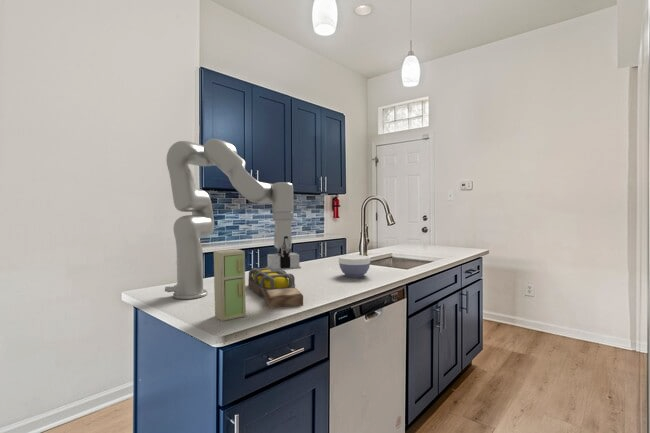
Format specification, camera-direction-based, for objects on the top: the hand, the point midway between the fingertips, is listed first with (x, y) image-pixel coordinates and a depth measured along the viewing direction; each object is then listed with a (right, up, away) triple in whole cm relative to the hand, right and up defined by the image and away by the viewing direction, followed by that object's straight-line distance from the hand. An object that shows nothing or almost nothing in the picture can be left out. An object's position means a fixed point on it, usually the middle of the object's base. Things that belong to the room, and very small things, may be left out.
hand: (283, 265), depth 125 cm
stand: (0, -13, 0) cm, 13 cm away
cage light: (-8, -13, +21) cm, 26 cm away
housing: (0, -1, 0) cm, 1 cm away
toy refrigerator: (-15, -14, -15) cm, 26 cm away
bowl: (+30, -12, +49) cm, 58 cm away
